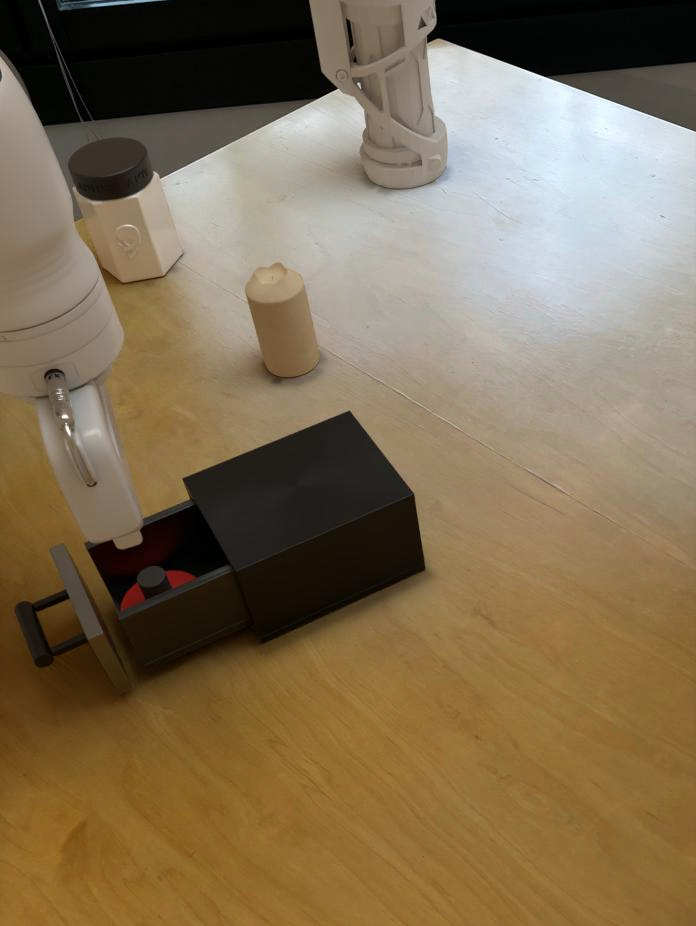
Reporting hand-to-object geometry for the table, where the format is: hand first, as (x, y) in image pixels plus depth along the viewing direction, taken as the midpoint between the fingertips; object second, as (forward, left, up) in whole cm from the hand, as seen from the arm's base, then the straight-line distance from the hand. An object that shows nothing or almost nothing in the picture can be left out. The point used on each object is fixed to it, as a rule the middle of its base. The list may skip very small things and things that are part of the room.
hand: (118, 495), depth 75 cm
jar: (+14, +52, -14) cm, 56 cm away
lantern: (+46, +53, -14) cm, 72 cm away
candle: (+21, +26, -14) cm, 36 cm away
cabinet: (+12, 0, -14) cm, 19 cm away
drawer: (-2, 0, -13) cm, 13 cm away
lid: (0, 0, -12) cm, 12 cm away
